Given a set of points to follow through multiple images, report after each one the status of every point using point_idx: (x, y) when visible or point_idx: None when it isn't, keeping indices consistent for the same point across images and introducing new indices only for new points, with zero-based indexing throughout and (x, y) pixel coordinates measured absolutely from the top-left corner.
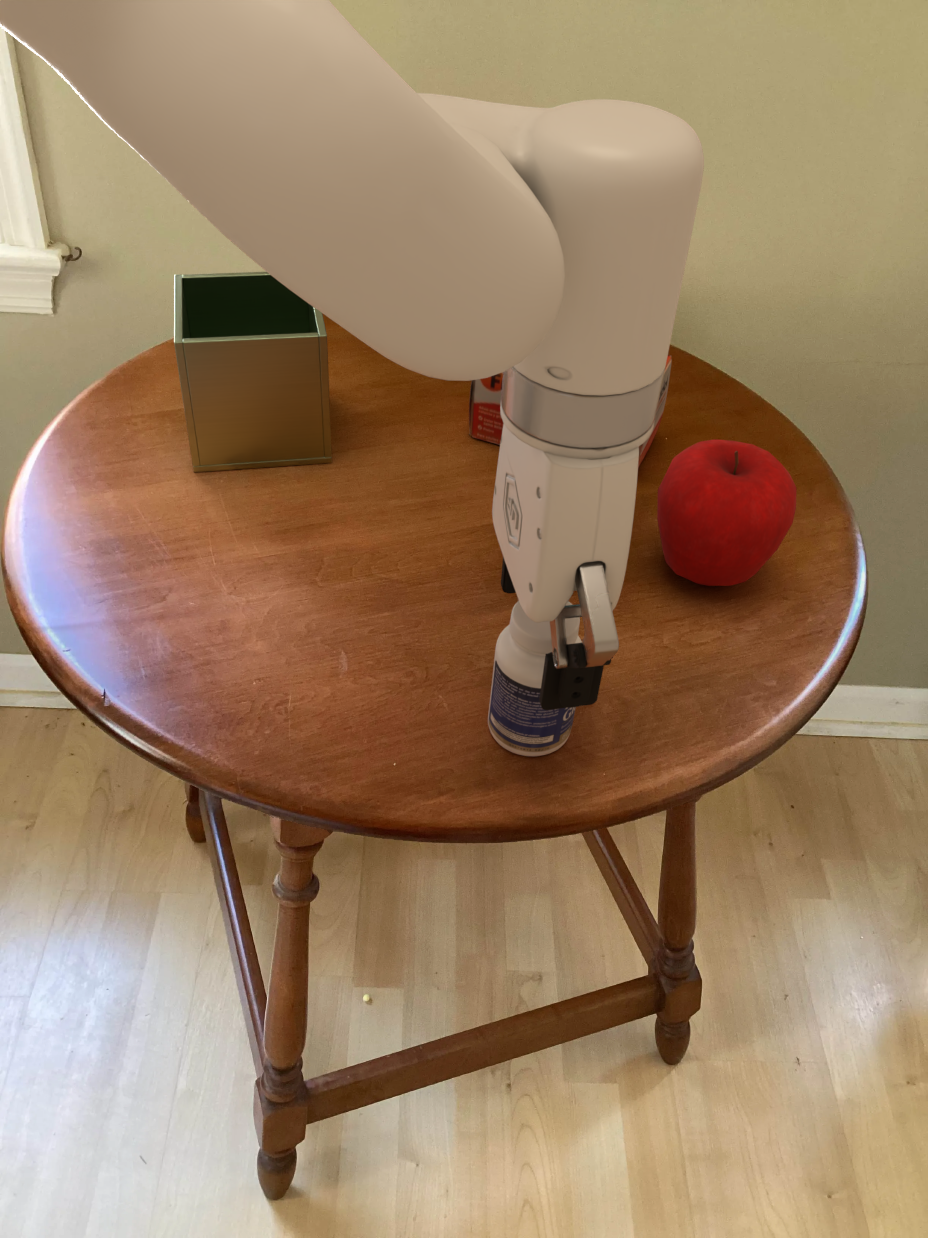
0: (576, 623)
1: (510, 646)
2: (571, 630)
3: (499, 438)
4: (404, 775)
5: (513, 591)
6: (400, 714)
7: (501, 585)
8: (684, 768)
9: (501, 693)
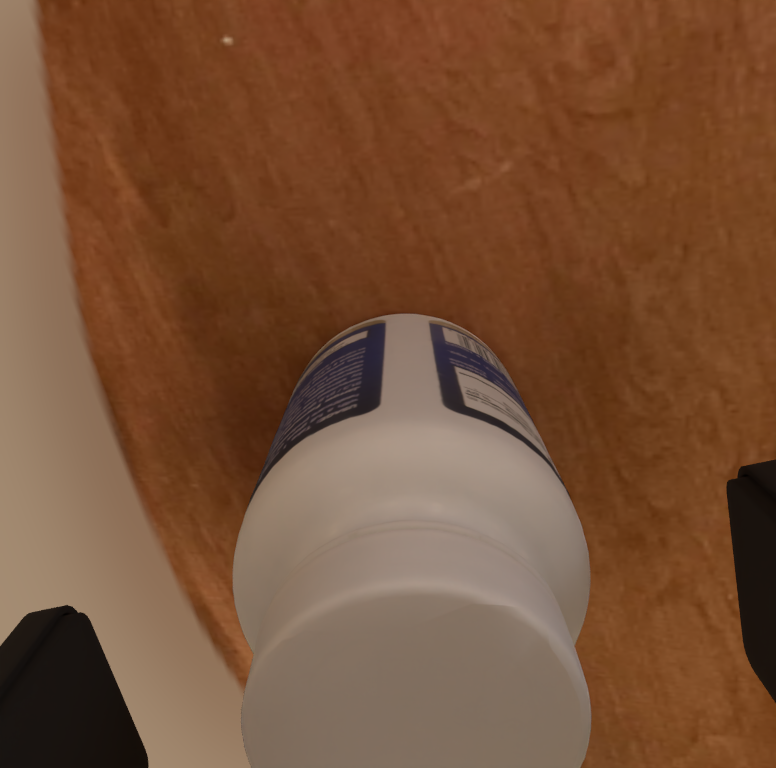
0: None
1: (368, 498)
2: None
3: None
4: (190, 75)
5: (732, 513)
6: (425, 40)
7: (771, 465)
8: None
9: (310, 402)
